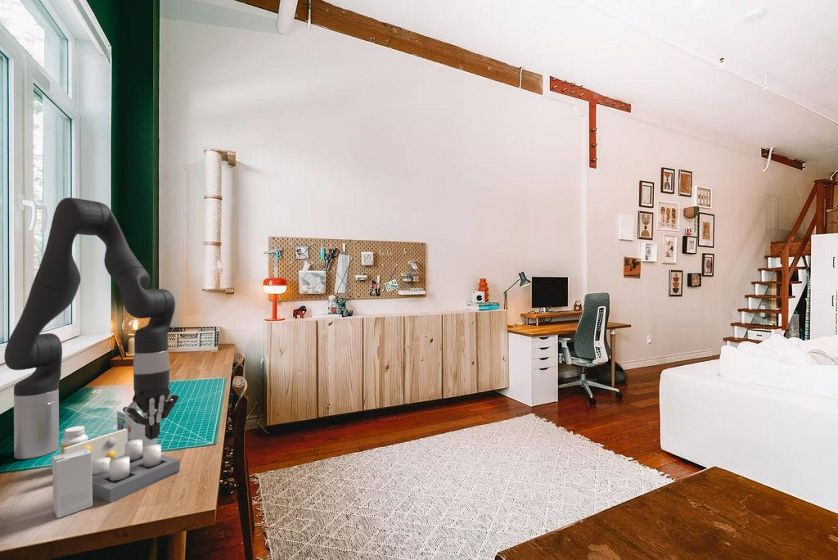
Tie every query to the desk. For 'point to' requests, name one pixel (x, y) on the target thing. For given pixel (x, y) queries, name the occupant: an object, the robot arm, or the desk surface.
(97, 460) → the button
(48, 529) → the desk surface
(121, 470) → the button
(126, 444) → the button
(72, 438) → the supplement bottle
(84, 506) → the skincare box
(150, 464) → the button
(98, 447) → the plaque
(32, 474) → the desk surface
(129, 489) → the button board
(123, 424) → the light bulb box
